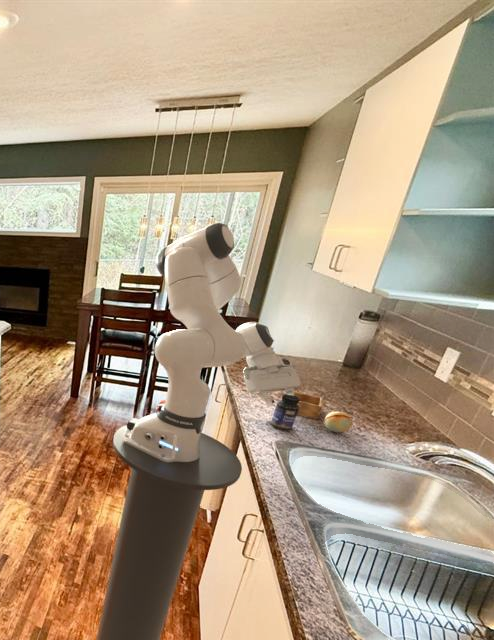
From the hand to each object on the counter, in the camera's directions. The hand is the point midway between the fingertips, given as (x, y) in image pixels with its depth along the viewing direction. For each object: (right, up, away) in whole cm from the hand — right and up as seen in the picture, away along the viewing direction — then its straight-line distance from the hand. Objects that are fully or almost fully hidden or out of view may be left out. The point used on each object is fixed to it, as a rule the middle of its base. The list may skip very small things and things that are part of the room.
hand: (281, 402), depth 133 cm
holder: (+17, -4, +14) cm, 22 cm away
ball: (+17, -10, -1) cm, 20 cm away
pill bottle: (0, -8, +1) cm, 9 cm away
